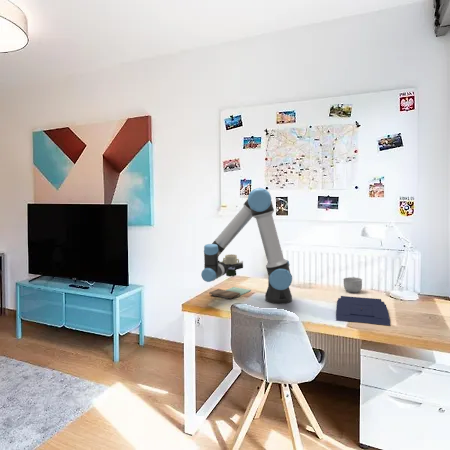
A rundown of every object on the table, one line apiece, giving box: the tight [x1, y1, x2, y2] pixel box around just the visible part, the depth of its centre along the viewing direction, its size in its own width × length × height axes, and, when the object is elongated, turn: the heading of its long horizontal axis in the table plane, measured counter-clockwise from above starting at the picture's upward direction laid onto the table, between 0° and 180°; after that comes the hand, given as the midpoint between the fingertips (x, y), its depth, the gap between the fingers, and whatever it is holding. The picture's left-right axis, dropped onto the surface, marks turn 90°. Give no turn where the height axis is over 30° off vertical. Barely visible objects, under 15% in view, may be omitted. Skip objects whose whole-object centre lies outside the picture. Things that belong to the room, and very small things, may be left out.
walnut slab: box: [209, 288, 241, 300], centre depth 216 cm, size 16×9×2 cm, turn 55°
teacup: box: [342, 276, 363, 294], centre depth 225 cm, size 14×11×8 cm
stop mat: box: [225, 286, 252, 296], centre depth 225 cm, size 13×12×1 cm
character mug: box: [222, 253, 240, 278], centre depth 221 cm, size 11×7×13 cm, turn 62°
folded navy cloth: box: [335, 295, 391, 327], centre depth 185 cm, size 24×30×4 cm
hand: (233, 262), depth 225 cm, fingers closed on character mug, 11 cm apart
